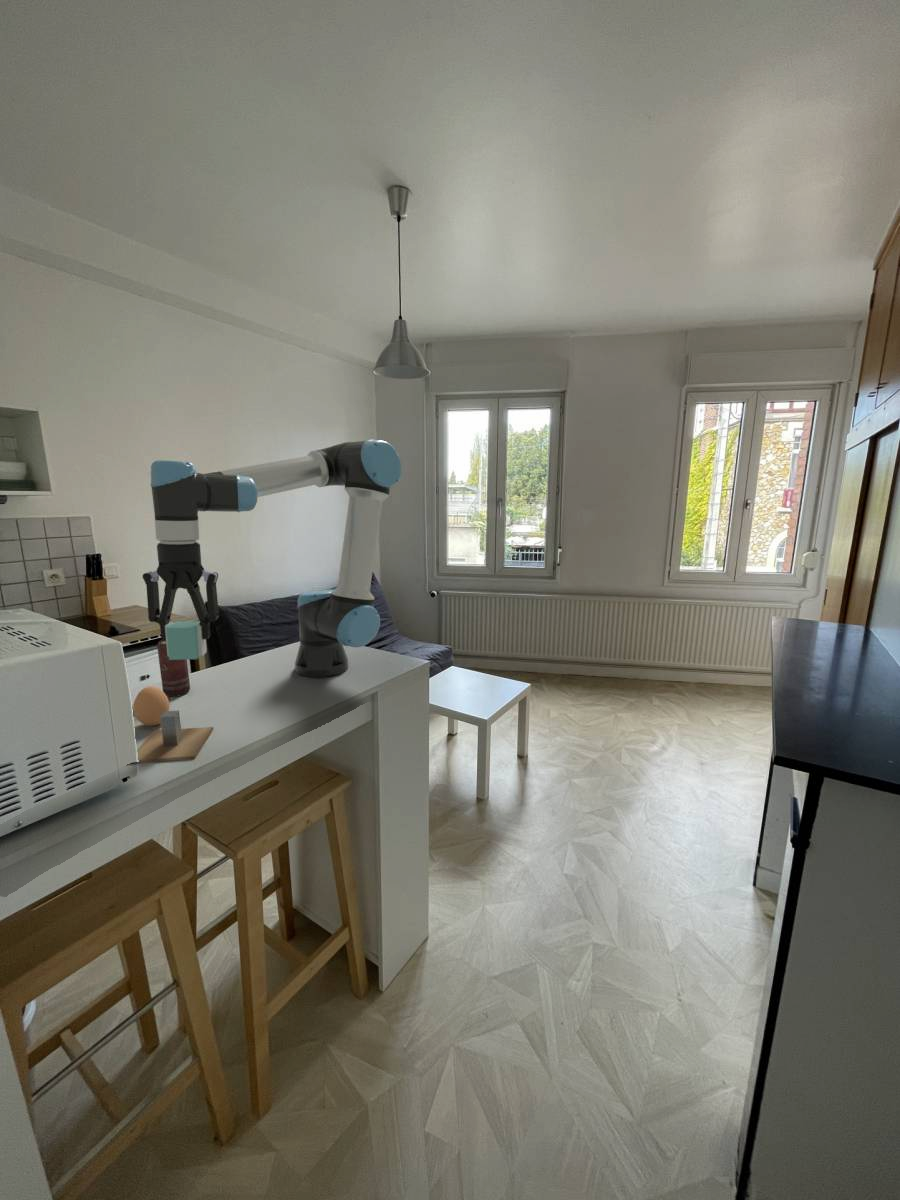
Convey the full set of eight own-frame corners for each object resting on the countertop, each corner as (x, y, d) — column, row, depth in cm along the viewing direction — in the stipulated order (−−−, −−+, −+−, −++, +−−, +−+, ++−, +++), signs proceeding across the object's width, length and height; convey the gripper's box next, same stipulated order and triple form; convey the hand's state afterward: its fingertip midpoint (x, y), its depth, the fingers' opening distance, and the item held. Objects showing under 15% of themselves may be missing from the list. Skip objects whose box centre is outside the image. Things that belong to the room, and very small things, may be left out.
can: (179, 698, 123) (173, 645, 119) (157, 696, 124) (150, 643, 121) (196, 688, 128) (191, 637, 125) (175, 686, 130) (169, 635, 126)
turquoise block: (205, 651, 105) (203, 621, 103) (196, 659, 100) (194, 627, 98) (179, 651, 104) (176, 621, 103) (169, 659, 99) (166, 628, 98)
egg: (152, 716, 113) (147, 679, 111) (178, 719, 112) (173, 682, 110) (128, 730, 107) (122, 691, 105) (155, 733, 105) (150, 694, 103)
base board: (213, 729, 107) (213, 726, 107) (194, 758, 96) (194, 756, 96) (154, 733, 105) (153, 730, 105) (127, 763, 94) (127, 760, 94)
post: (182, 739, 102) (178, 710, 100) (177, 745, 99) (174, 716, 98) (168, 739, 101) (165, 711, 100) (163, 746, 99) (160, 717, 98)
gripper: (232, 541, 102) (238, 648, 107) (137, 539, 99) (148, 649, 104) (221, 544, 95) (228, 659, 99) (118, 542, 92) (131, 660, 97)
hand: (187, 653), depth 102 cm, fingers closed on turquoise block, 5 cm apart
